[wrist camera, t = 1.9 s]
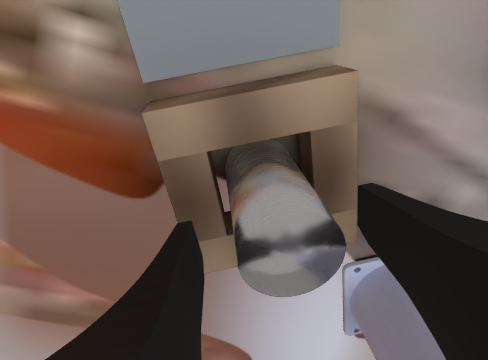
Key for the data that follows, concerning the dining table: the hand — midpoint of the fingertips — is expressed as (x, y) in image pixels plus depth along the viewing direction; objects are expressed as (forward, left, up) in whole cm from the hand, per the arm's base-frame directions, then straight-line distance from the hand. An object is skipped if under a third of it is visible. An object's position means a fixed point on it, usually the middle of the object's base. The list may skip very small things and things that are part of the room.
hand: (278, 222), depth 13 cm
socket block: (0, 0, -6) cm, 6 cm away
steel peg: (0, 0, -6) cm, 6 cm away
